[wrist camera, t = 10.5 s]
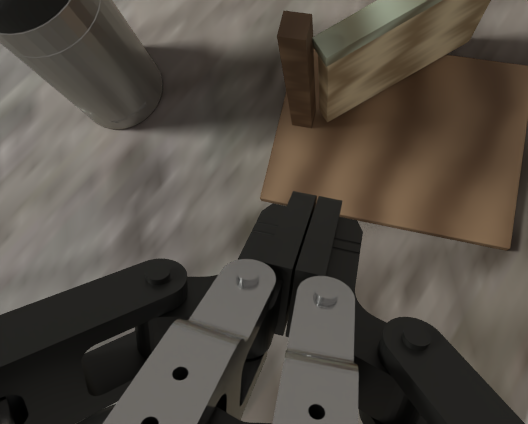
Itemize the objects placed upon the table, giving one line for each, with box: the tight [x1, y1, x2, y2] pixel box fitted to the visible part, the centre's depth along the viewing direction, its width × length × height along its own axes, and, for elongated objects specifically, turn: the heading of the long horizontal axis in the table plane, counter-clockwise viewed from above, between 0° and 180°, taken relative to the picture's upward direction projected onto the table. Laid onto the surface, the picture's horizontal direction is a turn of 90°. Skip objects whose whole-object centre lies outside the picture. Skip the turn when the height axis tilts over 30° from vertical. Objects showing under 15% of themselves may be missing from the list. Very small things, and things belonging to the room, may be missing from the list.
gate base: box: [260, 11, 528, 250], centre depth 37 cm, size 23×18×16 cm
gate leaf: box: [312, 0, 491, 122], centre depth 39 cm, size 17×2×12 cm, turn 119°
